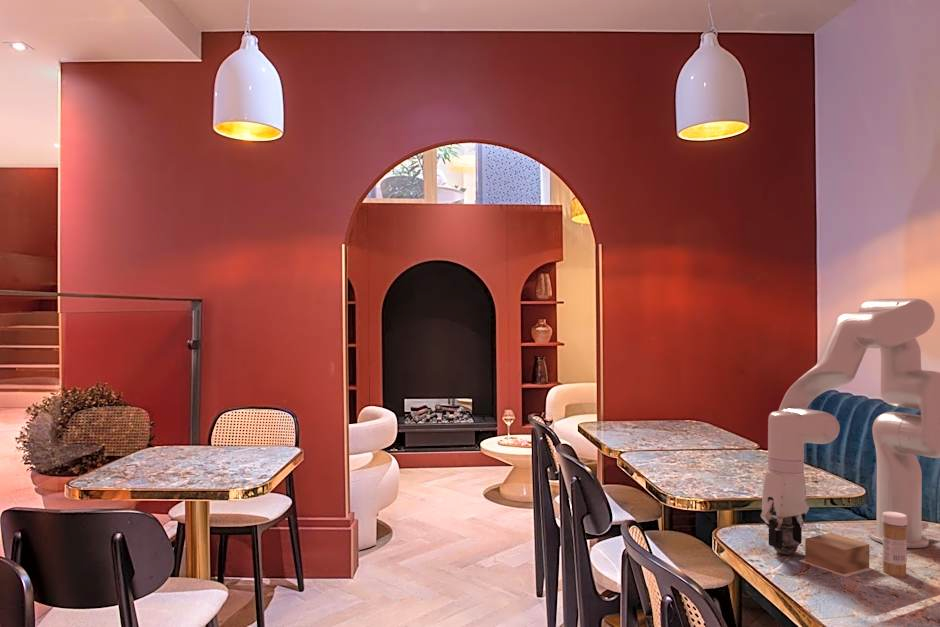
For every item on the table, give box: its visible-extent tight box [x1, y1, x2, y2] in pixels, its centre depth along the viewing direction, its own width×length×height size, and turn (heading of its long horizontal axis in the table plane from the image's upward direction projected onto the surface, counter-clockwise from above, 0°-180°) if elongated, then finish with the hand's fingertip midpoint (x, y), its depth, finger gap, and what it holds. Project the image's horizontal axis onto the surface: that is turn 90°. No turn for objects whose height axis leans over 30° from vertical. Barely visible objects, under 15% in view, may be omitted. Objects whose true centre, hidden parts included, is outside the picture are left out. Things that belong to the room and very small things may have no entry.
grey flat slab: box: [798, 558, 877, 578], centre depth 155 cm, size 16×12×1 cm
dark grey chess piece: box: [773, 517, 800, 556], centre depth 162 cm, size 6×6×12 cm
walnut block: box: [804, 532, 870, 574], centre depth 155 cm, size 9×9×5 cm
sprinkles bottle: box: [882, 512, 908, 578], centre depth 150 cm, size 5×5×14 cm
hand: (785, 543), depth 162 cm, fingers closed on dark grey chess piece, 5 cm apart
